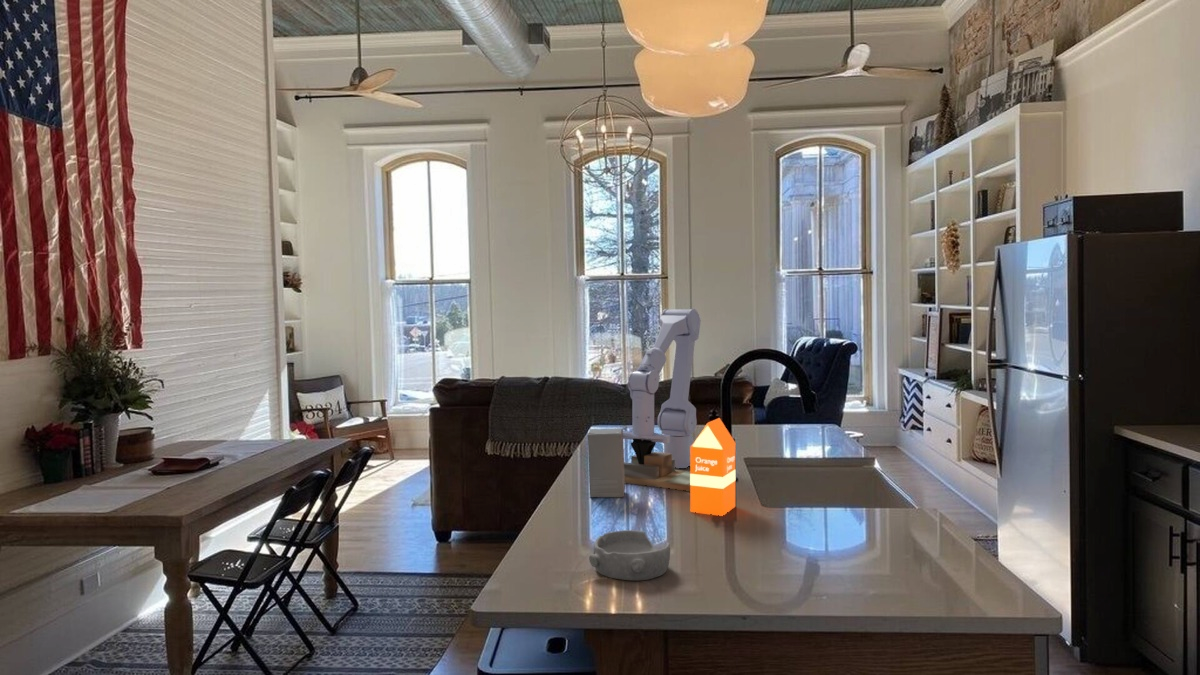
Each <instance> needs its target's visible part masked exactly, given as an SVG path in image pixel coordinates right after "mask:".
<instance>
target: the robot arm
mask: <svg viewBox="0 0 1200 675" xmlns="http://www.w3.org/2000/svg"><path fill="white" fill-rule="evenodd" d="M659 325H660V329H659V332H658V335H657V337H656V340H655V342H654V344H653V347H652V348H650V349H647V351H646V352H645V354H644V356H643V358H642V360H641V362H640V364H639V366H638V367H637V369H636V370H635V371H633V372H632V373H630V375H629V377H628V381H627V388H628V391H629V396H630V399H631V401H632V402H631V403H632V414H631V415H632V420H631V421H632V427H631V428H632V430H631V431H629V430H623V440H632V442H631V443H630V446H631V448H632V450H633V451H634V453H635V454H634V455H636V456H637V459H638V463H639V464H643V465H644V456H645V455H648V454H650V453H653V450H654V448H655V446H656V444H657V443H660V444H664V445H663V447H664V448H663V450H664V451H663V453H670V454H672V459H675V467H676V468H675V469H679V468H686V467H687V466H690V447H691V446H692V445H693V443H694V442H695V438H694V437H693V434H694V432H695V430H696V429H697V424H698V423H697V422H698V421H697V407H695V405H694V404H692V403H691V402H690V401H689V396H690V395H689V393H690V385H691V378H692V376H691V375H692V368H693V361H694V351H695V343H696V341H697V340H699V335H700V328H701V317H700V314H699V312H698V311H697V309H695V308H690V309H689V308H688V309H687V308H685V309H679V308H675V309H674V308H665V309H663V310H662V312H661V314H660V317H659ZM673 341H674V342H675V352H674V354H675V355H674V359H673V360H674V362H673V368H672V378H671V385H670V386H671V387H670V393H669V398H668V399H667V400H666V401H664V402H663V403H662V404H661V406H660V407H661V408H660V409H659V410H660V411H659V414H658V416H657V426H658V429H659V430H660V431H661V433H658V432H655V393H656V392H657V390H658V389H659V385H660V379H661V376H660V374H661V371H663V367H664V366H665V363H666V361H667V357H666V352H667V351H668V349H669V348H670V346H671V344H672V343H673ZM686 469H687V468H686Z"/></svg>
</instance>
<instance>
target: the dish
mask: <svg viewBox="0 0 1200 675" xmlns="http://www.w3.org/2000/svg"><path fill="white" fill-rule="evenodd" d="M588 558H589V563H590V566H592V567H593V568H595V570H596V571H597V572H598V574H601V575H602V576H604V577H608V578H611V579H617V580H624V581H646V580H652V579H656V578H658V577H661V576H662V575H664V574H665V573H666V572H667V571H668V567H669V564H670V558H671V545H670V542H665V545H664V547H663V548H660V549H657V548H656V547H655V546H654V544H653V543H652V542H651V541H650V539H649V538H648V536H647V534H646V532H644V531H643V530H635V529H634V530H633V529H631V530H630V529H626V530H616V531H610V532H606V533H604V534H603V535H601V536H598V537H597V538H596V540H595V541H594V544H593V553H592V554H590V555H589V556H588Z"/></svg>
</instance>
